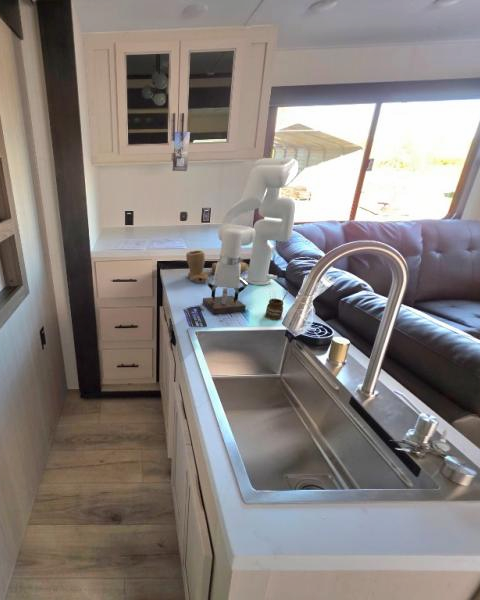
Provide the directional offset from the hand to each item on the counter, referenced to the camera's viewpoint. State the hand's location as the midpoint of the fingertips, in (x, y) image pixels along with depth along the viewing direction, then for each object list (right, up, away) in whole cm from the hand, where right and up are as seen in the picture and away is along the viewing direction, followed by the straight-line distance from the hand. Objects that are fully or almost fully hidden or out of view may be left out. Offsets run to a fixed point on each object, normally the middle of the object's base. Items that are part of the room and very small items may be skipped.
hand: (224, 299), depth 132 cm
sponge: (+16, +15, +44) cm, 49 cm away
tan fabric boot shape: (-4, +11, +34) cm, 36 cm away
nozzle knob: (0, -1, 0) cm, 1 cm away
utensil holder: (+18, -7, -6) cm, 20 cm away
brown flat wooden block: (0, -4, +2) cm, 4 cm away
